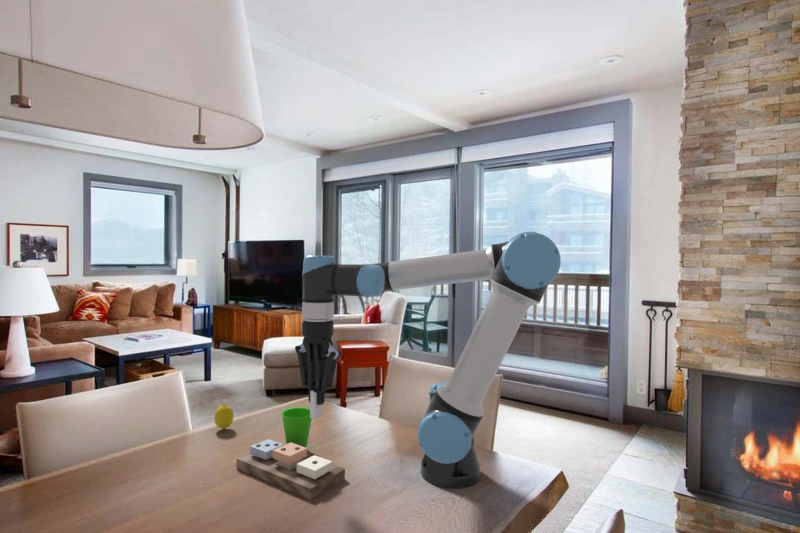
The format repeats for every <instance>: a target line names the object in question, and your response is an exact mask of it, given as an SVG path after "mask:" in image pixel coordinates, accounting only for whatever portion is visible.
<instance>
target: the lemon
mask: <svg viewBox="0 0 800 533" xmlns="http://www.w3.org/2000/svg"><path fill="white" fill-rule="evenodd" d="M233 421H234V412H233V409H232V407H231V406H229V405H227V404H224V403H223V404H222V405H220V406H219V407H217V409H216V410H215V414H214V424H215V425H216V426H217V427H218V428H219V429H221V430H223V431H225V430H226V429H227V428H229V427H230V426H231V425H232V423H233Z"/></svg>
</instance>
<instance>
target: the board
mask: <svg viewBox="0 0 800 533" xmlns="http://www.w3.org/2000/svg"><path fill="white" fill-rule="evenodd" d="M310 457H311V455H310V456H309V455H307V456H306V457H304V458H302V459H301V462H302V461H304V460H306V459H308V458H310ZM236 469H237V470H239V471H242V472H244V473H246V474H249V475H251V476H254V477H256V478H259V479H261V480H262V481H265V482H267V483H270V484H272V485H275V486H277V487H280V488H282V489H284V490H287V491H289V492H291V493H293V494H296V495H298V496H301V497H302V498H305V499H307V500H309V501H310V500H313V499H314V498H316V497H317V496H319V495H321V494H323V493H324V492H325V491H327V490H329V489H330V488H332V487H334V486H335V485H337V484H339V483H341V482H342V481H343V480H346V469H345V468H344V467H341V466H337V465H335V464H334V463H332V470H331V471H329V472H327V473H326V474H325V475H323V476H321V477H320V478H318V479H316V480H313V479H311V478H308V477H306V476H303V474H300V473H298V472H297V467H295V468H293V469H291V470H288V469H285V468H283V467H280V466H278V460H276V459H274V458H271V459H269V460H267V461H265V460H262V459H260V458H257V457H256V456H254V455H252V454H250V452H249V453H247V454H245V455H242V456H239V457H237V458H236Z"/></svg>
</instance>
